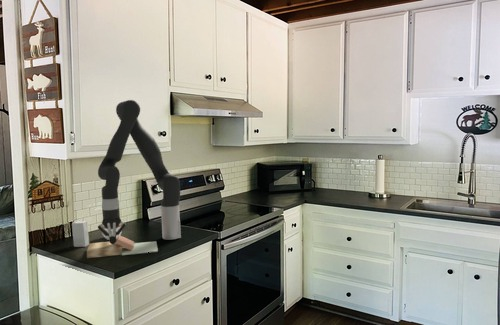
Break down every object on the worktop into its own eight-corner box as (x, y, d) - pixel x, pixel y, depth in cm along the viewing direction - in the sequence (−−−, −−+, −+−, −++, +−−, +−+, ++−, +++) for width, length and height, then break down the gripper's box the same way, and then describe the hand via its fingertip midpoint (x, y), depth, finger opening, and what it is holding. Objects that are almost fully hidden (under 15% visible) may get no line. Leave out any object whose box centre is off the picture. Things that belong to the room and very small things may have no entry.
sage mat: (156, 242, 199) (156, 241, 199) (157, 251, 184) (157, 250, 184) (123, 245, 195) (123, 244, 195) (121, 255, 180) (121, 254, 179)
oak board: (123, 246, 193) (122, 240, 193) (122, 254, 181) (121, 248, 181) (90, 249, 189) (89, 243, 189) (86, 258, 177) (86, 251, 177)
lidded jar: (124, 234, 214) (123, 217, 213) (121, 240, 204) (120, 222, 203) (103, 236, 213) (102, 219, 212) (99, 241, 202) (98, 223, 201)
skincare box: (89, 244, 198) (88, 220, 197) (85, 247, 193) (83, 223, 192) (77, 244, 198) (76, 220, 197) (73, 247, 194) (71, 223, 193)
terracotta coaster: (131, 245, 192) (134, 241, 192) (131, 250, 184) (133, 246, 185) (116, 238, 190) (119, 234, 190) (115, 243, 182) (118, 239, 182)
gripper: (125, 205, 190) (127, 240, 191) (96, 207, 186) (98, 243, 188) (125, 208, 182) (127, 244, 184) (94, 210, 179) (97, 247, 181)
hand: (113, 243), depth 186 cm, fingers closed
